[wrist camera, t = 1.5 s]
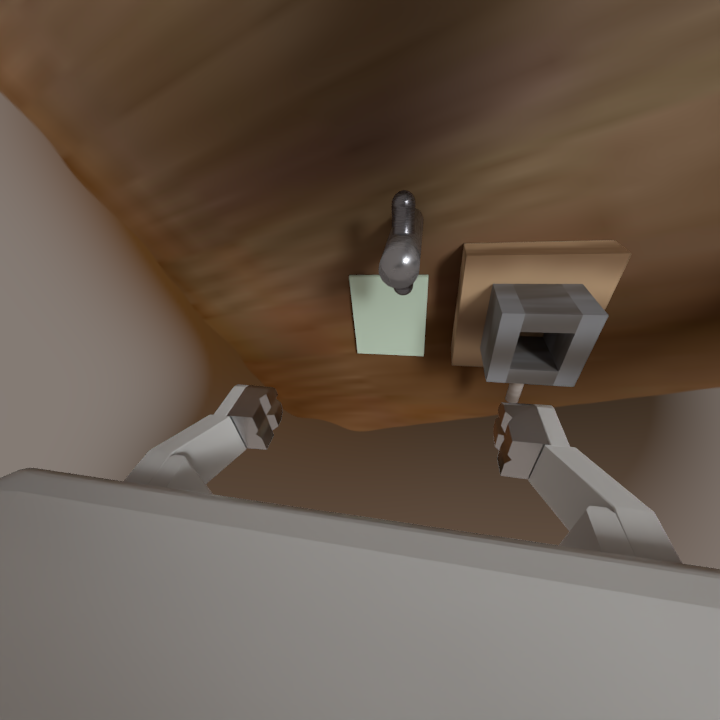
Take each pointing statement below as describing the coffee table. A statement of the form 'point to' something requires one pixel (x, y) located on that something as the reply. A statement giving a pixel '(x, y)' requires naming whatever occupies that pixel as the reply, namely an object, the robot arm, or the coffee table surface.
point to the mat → (388, 316)
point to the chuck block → (533, 308)
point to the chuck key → (402, 245)
